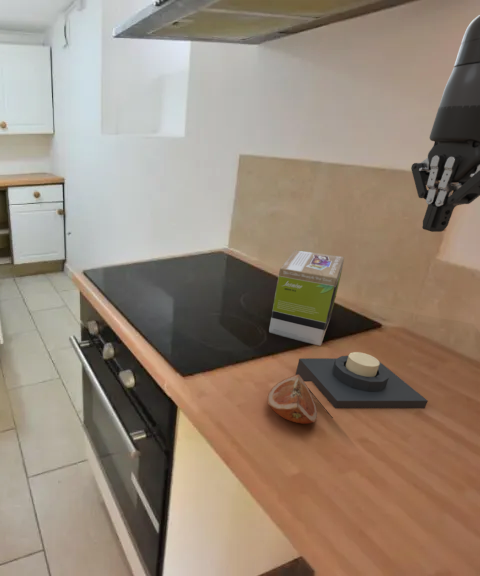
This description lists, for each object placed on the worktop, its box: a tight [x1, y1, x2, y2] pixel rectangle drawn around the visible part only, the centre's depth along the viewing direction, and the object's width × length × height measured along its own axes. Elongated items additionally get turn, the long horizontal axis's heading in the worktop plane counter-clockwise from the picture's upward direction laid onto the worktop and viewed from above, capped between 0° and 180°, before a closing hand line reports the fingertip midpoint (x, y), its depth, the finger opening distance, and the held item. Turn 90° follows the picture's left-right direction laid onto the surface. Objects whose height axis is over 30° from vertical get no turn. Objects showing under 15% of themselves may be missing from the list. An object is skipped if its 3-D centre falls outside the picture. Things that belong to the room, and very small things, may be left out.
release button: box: [346, 351, 381, 377], centre depth 58 cm, size 4×4×2 cm
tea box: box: [268, 249, 345, 347], centre depth 79 cm, size 15×10×15 cm, turn 144°
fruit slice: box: [267, 374, 318, 425], centre depth 55 cm, size 8×7×5 cm
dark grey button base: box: [295, 355, 428, 419], centre depth 60 cm, size 13×11×5 cm
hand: (432, 230), depth 57 cm, fingers closed
